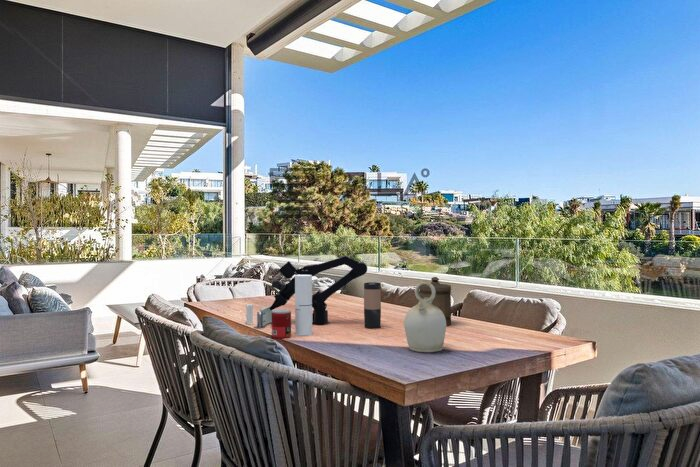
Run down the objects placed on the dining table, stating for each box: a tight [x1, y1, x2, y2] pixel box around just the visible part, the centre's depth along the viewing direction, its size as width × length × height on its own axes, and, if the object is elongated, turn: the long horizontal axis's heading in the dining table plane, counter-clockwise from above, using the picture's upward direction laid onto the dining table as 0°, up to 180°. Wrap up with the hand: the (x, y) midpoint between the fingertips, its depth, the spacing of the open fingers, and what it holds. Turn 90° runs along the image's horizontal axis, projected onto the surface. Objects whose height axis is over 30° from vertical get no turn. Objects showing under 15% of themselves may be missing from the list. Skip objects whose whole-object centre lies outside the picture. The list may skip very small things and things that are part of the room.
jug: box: [403, 280, 447, 354], centre depth 188 cm, size 15×16×25 cm
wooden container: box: [419, 276, 452, 327], centre depth 238 cm, size 15×15×22 cm
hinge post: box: [253, 311, 267, 329], centre depth 231 cm, size 4×4×7 cm
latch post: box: [245, 303, 254, 325], centre depth 243 cm, size 6×3×9 cm, turn 25°
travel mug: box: [363, 281, 382, 330], centre depth 230 cm, size 8×8×20 cm
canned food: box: [271, 308, 292, 340], centre depth 211 cm, size 8×8×11 cm
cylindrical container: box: [294, 274, 313, 337], centre depth 216 cm, size 7×7×25 cm
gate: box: [259, 305, 272, 326], centre depth 239 cm, size 12×2×7 cm, turn 167°
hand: (270, 309), depth 241 cm, fingers closed
